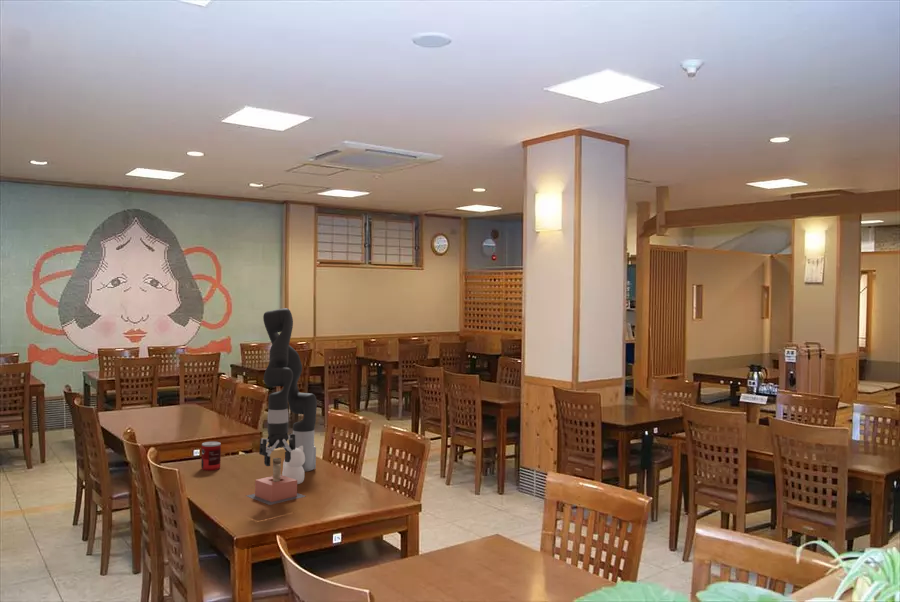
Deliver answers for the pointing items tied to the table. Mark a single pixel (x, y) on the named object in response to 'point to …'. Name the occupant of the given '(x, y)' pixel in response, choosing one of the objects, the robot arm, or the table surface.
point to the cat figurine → (295, 465)
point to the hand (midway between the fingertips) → (277, 463)
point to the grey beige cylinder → (276, 469)
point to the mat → (274, 501)
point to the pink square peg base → (275, 488)
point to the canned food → (211, 456)
